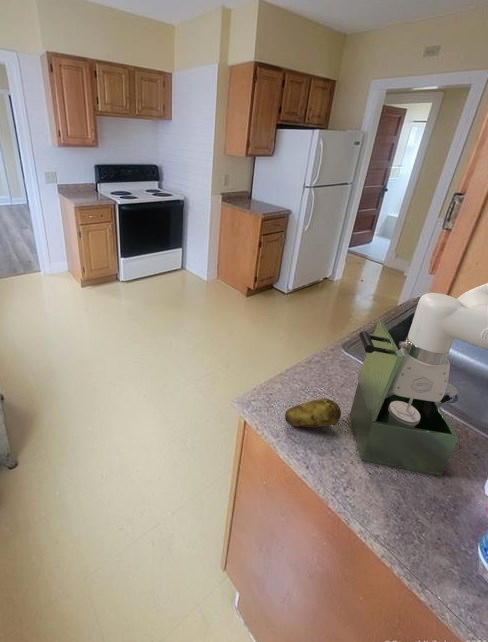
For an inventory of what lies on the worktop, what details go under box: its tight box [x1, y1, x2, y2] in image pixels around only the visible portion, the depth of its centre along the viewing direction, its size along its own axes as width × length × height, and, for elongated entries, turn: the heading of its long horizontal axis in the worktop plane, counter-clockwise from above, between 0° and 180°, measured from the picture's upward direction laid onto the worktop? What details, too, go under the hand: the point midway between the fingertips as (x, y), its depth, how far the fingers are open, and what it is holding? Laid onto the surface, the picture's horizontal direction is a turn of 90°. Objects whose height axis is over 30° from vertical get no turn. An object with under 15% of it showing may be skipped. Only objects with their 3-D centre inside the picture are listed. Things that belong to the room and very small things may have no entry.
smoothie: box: [388, 398, 421, 428], centre depth 76 cm, size 6×6×14 cm
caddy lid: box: [357, 319, 402, 422], centre depth 72 cm, size 18×14×5 cm
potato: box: [284, 397, 342, 428], centre depth 82 cm, size 8×13×8 cm, turn 67°
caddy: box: [349, 380, 459, 477], centre depth 76 cm, size 17×14×12 cm
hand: (404, 411), depth 75 cm, fingers open, 8 cm apart
